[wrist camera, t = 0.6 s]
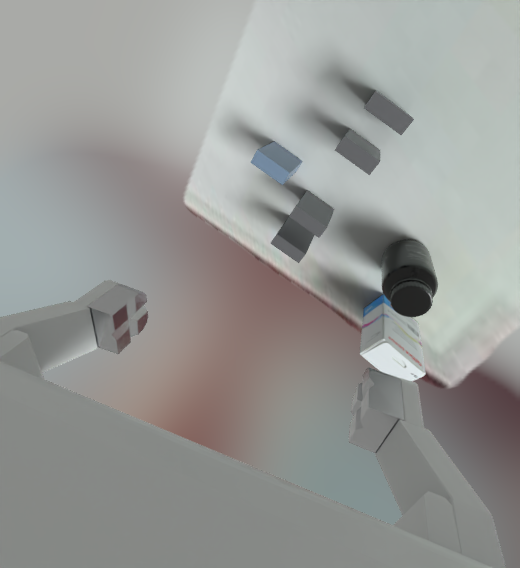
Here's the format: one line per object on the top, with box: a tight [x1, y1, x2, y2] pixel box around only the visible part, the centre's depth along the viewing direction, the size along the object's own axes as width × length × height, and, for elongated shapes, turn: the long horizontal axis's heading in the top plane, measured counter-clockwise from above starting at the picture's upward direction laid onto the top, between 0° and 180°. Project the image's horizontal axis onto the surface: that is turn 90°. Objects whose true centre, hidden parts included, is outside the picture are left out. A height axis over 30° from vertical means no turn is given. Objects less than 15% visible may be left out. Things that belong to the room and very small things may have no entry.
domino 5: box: [364, 91, 414, 135], centre depth 36 cm, size 2×5×8 cm, turn 59°
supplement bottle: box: [382, 240, 438, 317], centre depth 44 cm, size 7×7×12 cm
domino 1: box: [251, 141, 302, 185], centre depth 43 cm, size 2×5×8 cm, turn 58°
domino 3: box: [271, 217, 314, 263], centre depth 48 cm, size 2×5×8 cm, turn 58°
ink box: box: [360, 294, 426, 381], centre depth 50 cm, size 9×5×12 cm, turn 53°
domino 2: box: [289, 190, 334, 237], centre depth 45 cm, size 2×5×8 cm, turn 58°
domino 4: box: [335, 129, 380, 175], centre depth 39 cm, size 2×5×8 cm, turn 58°
